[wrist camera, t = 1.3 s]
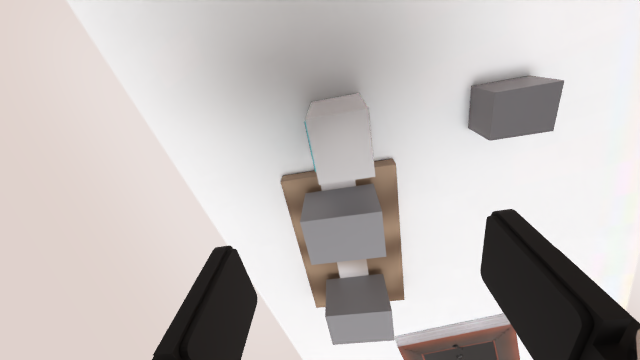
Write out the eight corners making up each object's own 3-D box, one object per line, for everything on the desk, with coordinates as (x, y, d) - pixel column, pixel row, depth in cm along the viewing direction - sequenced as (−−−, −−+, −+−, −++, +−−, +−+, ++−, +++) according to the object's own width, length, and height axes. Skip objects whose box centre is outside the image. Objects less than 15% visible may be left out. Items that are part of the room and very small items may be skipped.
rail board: (282, 175, 29) (278, 186, 27) (392, 158, 27) (398, 168, 25) (317, 298, 38) (316, 314, 35) (401, 290, 36) (406, 306, 34)
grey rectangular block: (470, 85, 24) (494, 92, 20) (528, 75, 23) (564, 80, 20) (467, 127, 26) (489, 140, 22) (521, 119, 25) (553, 130, 22)
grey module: (308, 102, 25) (300, 119, 19) (358, 92, 25) (368, 107, 18) (318, 154, 28) (315, 185, 21) (365, 147, 27) (375, 176, 21)
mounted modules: (305, 193, 27) (299, 222, 22) (373, 183, 26) (382, 211, 22) (332, 306, 35) (333, 344, 30) (386, 301, 34) (394, 340, 29)
